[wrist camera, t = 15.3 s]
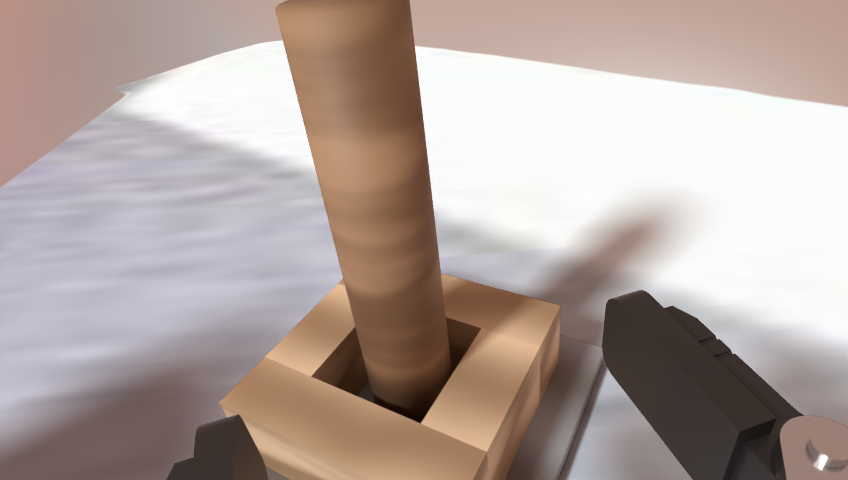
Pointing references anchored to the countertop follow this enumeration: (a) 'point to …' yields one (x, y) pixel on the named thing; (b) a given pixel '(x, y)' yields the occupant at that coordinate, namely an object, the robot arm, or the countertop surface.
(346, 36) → the peg
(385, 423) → the socket block
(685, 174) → the countertop surface
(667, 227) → the countertop surface
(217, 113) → the countertop surface
